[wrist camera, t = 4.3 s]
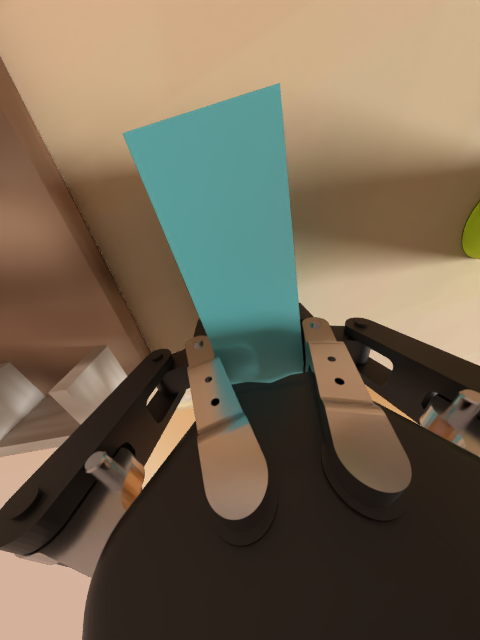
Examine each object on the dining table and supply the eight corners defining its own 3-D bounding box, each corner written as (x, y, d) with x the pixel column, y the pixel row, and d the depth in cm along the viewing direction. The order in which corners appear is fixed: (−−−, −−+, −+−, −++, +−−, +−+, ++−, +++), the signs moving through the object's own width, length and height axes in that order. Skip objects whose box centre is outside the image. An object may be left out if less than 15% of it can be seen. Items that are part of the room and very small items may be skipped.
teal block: (177, 182, 10) (122, 133, 4) (247, 160, 9) (279, 83, 4) (239, 364, 16) (246, 430, 11) (280, 353, 16) (308, 416, 11)
